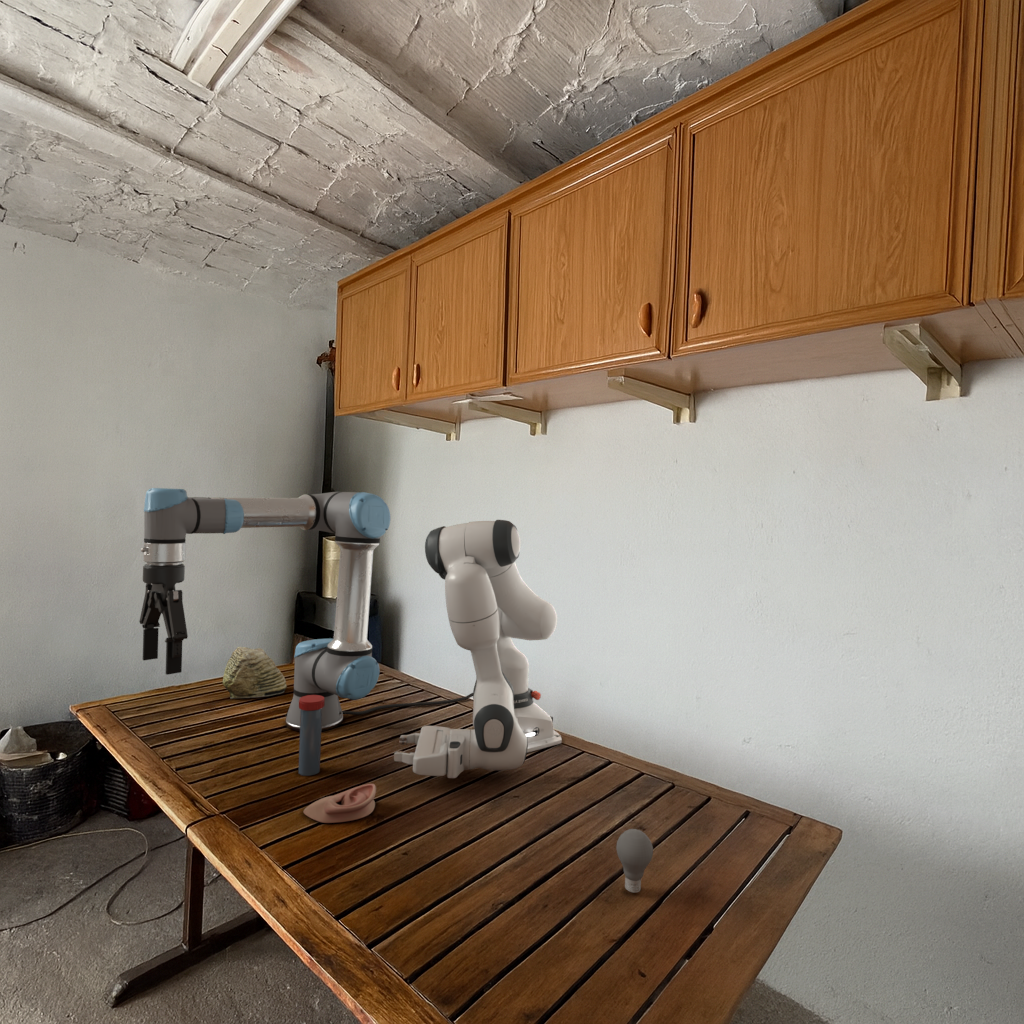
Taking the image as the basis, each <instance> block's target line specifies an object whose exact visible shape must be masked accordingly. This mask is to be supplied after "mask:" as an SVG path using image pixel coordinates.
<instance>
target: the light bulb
mask: <svg viewBox="0 0 1024 1024" xmlns="http://www.w3.org/2000/svg"><path fill="white" fill-rule="evenodd" d="M615 849H616V854H617V857H618V859H619V861H620V863H621V865H622V867H623V873H624V874H623V875H624V876H625V878H624V888H625V890H627V891H628V892H630V893H634V894H635V893H639V892H640V891H641V889H642V887H641V886H642V879H643V877H644V875H645V871H646V868H647V867H648V866H649V864H650V863H651V861H652V859H653V855H654V847H653V843H652V841H651V838H649V836H648V835H647V834H646V833H645V832H643V831H642V830H641V829H636V828H629V829H627V830H625V831H623V832H622V833H621V834H620V835H619V837H618V839H617V841H616V847H615Z"/></svg>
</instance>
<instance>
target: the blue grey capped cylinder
mask: <svg viewBox="0 0 1024 1024" xmlns="http://www.w3.org/2000/svg"><path fill="white" fill-rule="evenodd" d="M321 728H322V708H321V709H318V710H311V711H308V710H302V709H301V714H300V731H299V740H298V741H299V742H298V743H299V744H298V770H297V773H298V774H299V775H300V776H306V777H308V776H315V775H317V774H319V773H320V772H321V753H322V752H321V749H322V731H321Z"/></svg>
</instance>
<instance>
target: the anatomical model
mask: <svg viewBox="0 0 1024 1024" xmlns="http://www.w3.org/2000/svg"><path fill="white" fill-rule="evenodd" d="M376 793H377V785H376V784H374V783H365V784H362V785H359V786H355V787H353V788H349V789H347V790H345V791H341V792H340V793H337V794H334V795H329V796H326V797H322V798H320V799H318V800H316V801H314V802H312V803H311V804H309V805H308V806H306V807H305V808H304V809H303V810H302V811H303V814H304V815H305V816H307V817H308V818H309V819H311V820H313V821H316V822H318V823H324V824H332V823H333V824H335V823H345V822H350V821H351V822H352V821H355V820H356V821H357V820H359V819H363V818H365V817H368V816H369V815H371V814H372V813H373V812H374V810H375V808H376V802H375V800H374V799H375V796H376Z"/></svg>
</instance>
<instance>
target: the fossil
mask: <svg viewBox="0 0 1024 1024" xmlns="http://www.w3.org/2000/svg"><path fill="white" fill-rule="evenodd" d="M222 676H223V677H222V685H223V687H224V688H225V690H226V691H228V693H229V698H230V699H250V698H264V697H271V696H275V695H281V694H284V693H285V691H286V689H287V687H288V686H287V680H286V678H285V676H284V674H283V673H282V672H281V669H279V668H278V667H277V665H276V663H275V662H274V660H273V659H272V658H271V657H270V656H269V655H268V654H267V653H266V652H265V650H264V649H263V648H260V647H258V648H251V647H247V646H246V647H245V646H238V647H237V648H236V649H235V650H233V651H232V653H231V656H230V657H229V659H228V660H227V663H226V666H225V668H224V671H223V675H222Z"/></svg>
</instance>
